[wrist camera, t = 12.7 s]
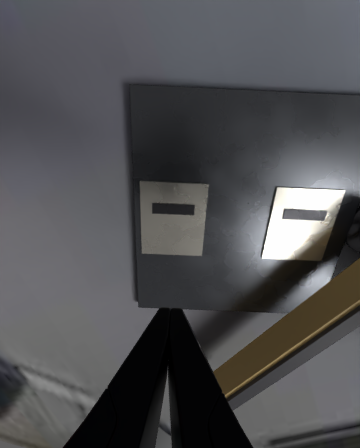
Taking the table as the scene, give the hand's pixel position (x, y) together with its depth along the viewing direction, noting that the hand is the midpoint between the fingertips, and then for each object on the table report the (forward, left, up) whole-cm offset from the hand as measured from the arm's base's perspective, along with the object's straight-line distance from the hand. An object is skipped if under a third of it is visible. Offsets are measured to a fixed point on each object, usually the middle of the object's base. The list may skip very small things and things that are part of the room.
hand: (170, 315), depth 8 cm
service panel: (-8, 0, -10) cm, 13 cm away
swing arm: (-11, +8, -9) cm, 16 cm away
